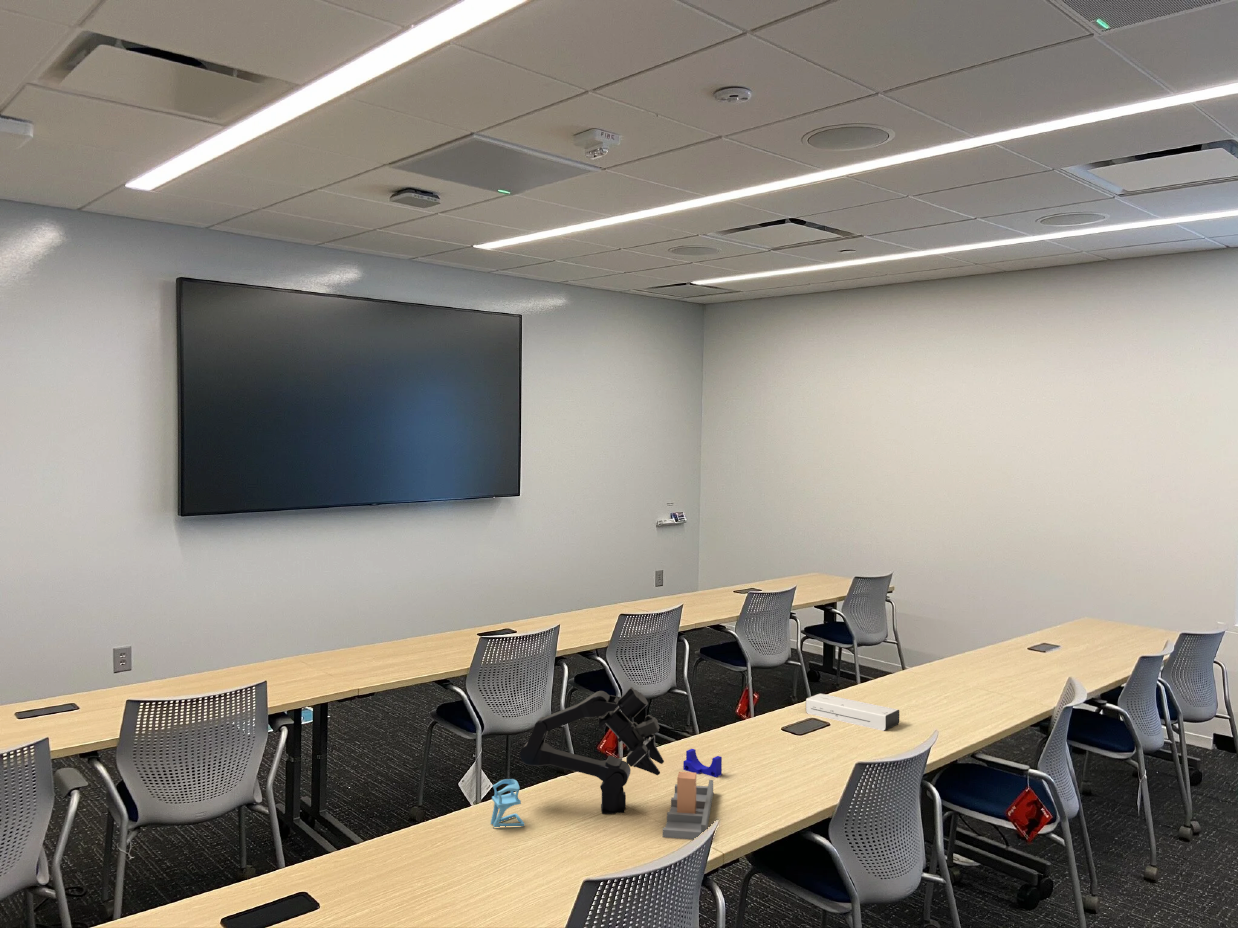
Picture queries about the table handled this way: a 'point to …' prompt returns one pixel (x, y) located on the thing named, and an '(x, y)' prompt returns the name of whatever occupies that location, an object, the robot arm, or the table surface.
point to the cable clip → (697, 767)
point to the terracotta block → (686, 792)
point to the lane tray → (690, 815)
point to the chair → (505, 803)
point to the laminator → (852, 711)
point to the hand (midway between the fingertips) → (661, 768)
